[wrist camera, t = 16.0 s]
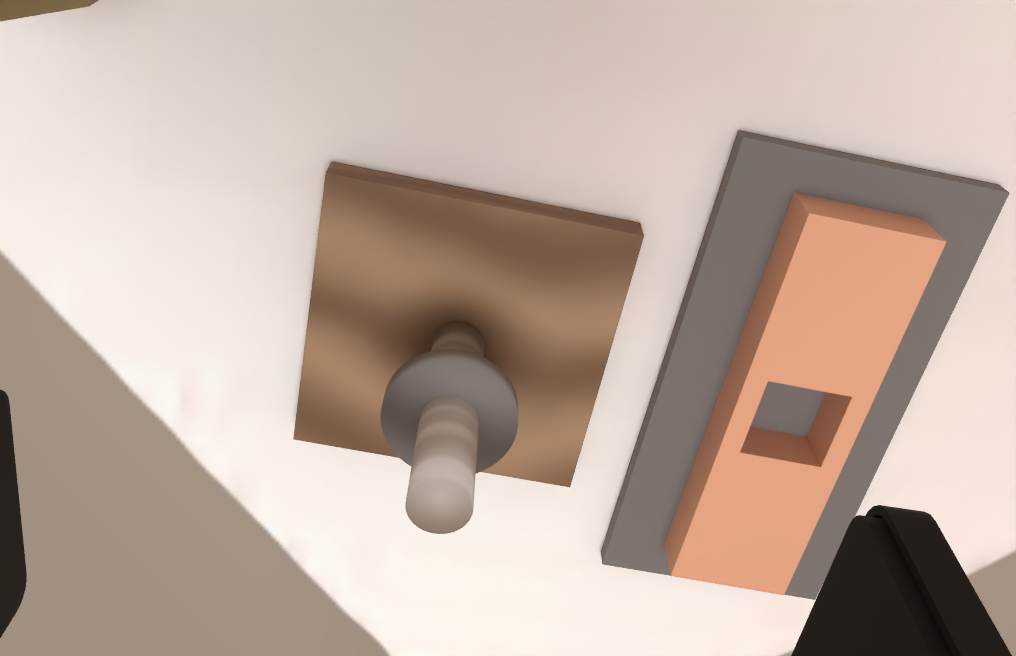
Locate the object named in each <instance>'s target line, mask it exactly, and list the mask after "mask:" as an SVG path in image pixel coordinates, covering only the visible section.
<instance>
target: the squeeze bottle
mask: <svg viewBox="0 0 1016 656" xmlns="http://www.w3.org/2000/svg"><path fill="white" fill-rule="evenodd" d="M97 1H98V0H0V21H5V20H11V19H17V18H23V17H29V16H34V15H40V14H46V13H52V12H58V11H64V10H70V9H75V8H81V7H87V6H90V5H92V4H94V3H95V2H97Z"/></svg>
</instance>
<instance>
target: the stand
mask: <svg viewBox="0 0 1016 656" xmlns="http://www.w3.org/2000/svg"><path fill="white" fill-rule="evenodd" d="M643 238H644V234H643V231H642V228H641V224H640V223H637V222H632V221H627V220H622V219H617V218H612V217H607V216H602V215H597V214H592V213H587V212H582V211H577V210H572V209H567V208H562V207H557V206H552V205H547V204H542V203H537V202H532V201H527V200H522V199H517V198H512V197H506V196H501V195H496V194H491V193H486V192H481V191H476V190H471V189H466V188H461V187H456V186H451V185H446V184H441V183H436V182H431V181H426V180H421V179H416V178H411V177H406V176H401V175H396V174H391V173H386V172H381V171H376V170H371V169H366V168H361V167H356V166H351V165H346V164H341V163H336V162H331V164H330V166H329V168H328V170H327V172H326V176H325V184H324V192H323V200H322V208H321V217H320V225H319V233H318V241H317V249H316V258H315V266H314V274H313V282H312V291H311V299H310V307H309V315H308V323H307V332H306V340H305V348H304V356H303V365H302V373H301V381H300V389H299V397H298V406H297V414H296V422H295V430H294V439H295V440H300V441H306V442H312V443H318V444H323V445H329V446H335V447H341V448H347V449H352V450H358V451H364V452H370V453H375V454H381V455H387V456H393V457H398V458H400V459H402V460H403V461H404V462H405V463H407V464H408V465H410V466H412V468H411V474H410V480H409V486H408V492H407V498H406V512H407V515H408V517H409V518H410V520H411V521H412V522H413V523H414V524H415V525H416V526H417V527H419V528H421V529H422V530H425V531H427V532H431V533H437V534H445V533H451V532H454V531H457V530H459V529H460V528H462V527H463V526H465V525H466V524H467V523H468V521H469V520H470V518H471V516H472V513H473V503H474V488H475V473H478V472H485V473H491V474H496V475H502V476H508V477H514V478H520V479H525V480H531V481H537V482H543V483H548V484H554V485H560V486H566V487H570V485H571V482H572V478H573V475H574V472H575V468H576V465H577V462H578V458H579V455H580V451H581V448H582V445H583V441H584V438H585V434H586V431H587V428H588V424H589V421H590V417H591V414H592V411H593V407H594V404H595V400H596V397H597V394H598V390H599V387H600V383H601V380H602V377H603V373H604V370H605V366H606V363H607V360H608V356H609V353H610V350H611V346H612V343H613V339H614V336H615V333H616V329H617V326H618V322H619V319H620V316H621V312H622V309H623V305H624V302H625V299H626V295H627V292H628V288H629V285H630V282H631V278H632V275H633V271H634V268H635V265H636V261H637V258H638V255H639V251H640V248H641V244H642V241H643Z"/></svg>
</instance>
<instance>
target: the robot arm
mask: <svg viewBox="0 0 1016 656" xmlns="http://www.w3.org/2000/svg"><path fill="white" fill-rule="evenodd" d="M25 588H26V564H25V554H24V544H23V535H22V524H21V515H20V504H19V494H18V485H17V474H16V464H15V454H14V444H13V434H12V424H11V414H10V404H9V399H8V396H7V394H6V392H4V391H2V390H0V638H1V636H2V634H3V633H4V631H5V630H6V628H7V626H8V625H9V623H10V622H11V620H12V618H13V617H14V615H15V614H16V612H17V610H18V608H19V606H20V604H21V601H22V598H23V595H24V591H25ZM791 656H1012V655H1011V654H1010V652H1009V650H1008V648H1007V646H1006V645H1005V643H1004V641H1003V639H1002V638H1001V636H1000V634H999V632H998V631H997V629H996V627H995V625H994V623H993V622H992V620H991V618H990V616H989V615H988V613H987V611H986V609H985V608H984V606H983V604H982V602H981V601H980V599H979V597H978V595H977V593H976V592H975V590H974V588H973V586H972V585H971V583H970V581H969V579H968V578H967V576H966V574H965V572H964V571H963V569H962V567H961V565H960V563H959V562H958V560H957V558H956V556H955V555H954V553H953V551H952V549H951V548H950V546H949V544H948V542H947V541H946V539H945V537H944V535H943V534H942V532H941V530H940V528H939V526H938V525H937V523H936V521H935V520H934V519H933V517H932V516H931V515H930V514H928V513H926V512H922V511H916V510H909V509H902V508H895V507H888V506H882V505H878V506H873V507H872V508H871V509H870V510H869V511H868V512H867V514H866V516H861V515H859V516H856V517H855V518H853V519H852V521H851V523H850V524H849V526H848V528H847V531H846V533H845V535H844V538H843V540H842V542H841V544H840V547H839V549H838V551H837V553H836V556H835V558H834V560H833V562H832V565H831V567H830V569H829V572H828V574H827V576H826V578H825V581H824V583H823V585H822V587H821V590H820V592H819V594H818V596H817V599H816V601H815V603H814V606H813V608H812V610H811V612H810V615H809V617H808V619H807V621H806V624H805V626H804V628H803V630H802V633H801V635H800V637H799V640H798V642H797V644H796V646H795V649H794V651H793V653H792V655H791Z"/></svg>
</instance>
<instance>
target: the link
mask: <svg viewBox="0 0 1016 656" xmlns="http://www.w3.org/2000/svg"><path fill="white" fill-rule="evenodd" d="M945 244H946V241H945V240H944V239H943V238H942V237H941V236H940V235H939V234H938V233H937V232H936V231H935V230H934V229H933V228H932V227H931V226H930V225H929V224H928V223H927V222H926V221H925V220H924V219H920V218H915V217H911V216H906V215H901V214H896V213H891V212H887V211H882V210H877V209H872V208H867V207H862V206H858V205H853V204H848V203H843V202H838V201H834V200H829V199H824V198H819V197H814V196H810V195H805V194H800V193H795V192H794V193H793V196H792V199H791V201H790V204H789V207H788V209H787V212H786V215H785V218H784V220H783V223H782V226H781V228H780V231H779V234H778V237H777V239H776V242H775V245H774V247H773V250H772V253H771V256H770V258H769V261H768V264H767V266H766V269H765V272H764V274H763V277H762V280H761V283H760V285H759V288H758V291H757V293H756V296H755V299H754V302H753V304H752V307H751V310H750V312H749V315H748V318H747V321H746V323H745V326H744V329H743V331H742V334H741V337H740V339H739V342H738V345H737V348H736V350H735V353H734V356H733V358H732V361H731V364H730V367H729V369H728V372H727V375H726V377H725V380H724V383H723V386H722V388H721V391H720V394H719V396H718V399H717V402H716V404H715V407H714V410H713V413H712V415H711V418H710V421H709V423H708V426H707V429H706V432H705V434H704V437H703V440H702V442H701V445H700V448H699V450H698V453H697V456H696V459H695V461H694V464H693V467H692V469H691V472H690V475H689V478H688V480H687V483H686V486H685V488H684V491H683V494H682V497H681V499H680V502H679V505H678V507H677V510H676V513H675V515H674V518H673V521H672V524H671V526H670V529H669V532H668V534H667V537H666V540H665V543H664V544H665V549H666V554H667V559H668V564H669V569H670V574H671V576H675V577H680V578H686V579H692V580H698V581H704V582H710V583H716V584H722V585H728V586H734V587H739V588H745V589H751V590H757V591H763V592H769V593H775V594H781V595H784V594H785V592H786V590H787V587H788V585H789V583H790V581H791V579H792V576H793V574H794V572H795V570H796V568H797V566H798V563H799V561H800V559H801V557H802V555H803V553H804V550H805V548H806V546H807V544H808V542H809V540H810V537H811V535H812V533H813V531H814V529H815V527H816V524H817V522H818V520H819V518H820V516H821V513H822V511H823V509H824V507H825V505H826V503H827V500H828V498H829V496H830V494H831V492H832V490H833V487H834V485H835V483H836V481H837V479H838V477H839V474H840V472H841V470H842V468H843V466H844V464H845V461H846V459H847V457H848V455H849V453H850V450H851V448H852V446H853V444H854V442H855V440H856V437H857V435H858V433H859V431H860V429H861V427H862V424H863V422H864V420H865V418H866V416H867V414H868V411H869V409H870V407H871V405H872V403H873V401H874V398H875V396H876V394H877V392H878V390H879V388H880V385H881V383H882V381H883V379H884V377H885V374H886V372H887V370H888V368H889V366H890V364H891V361H892V359H893V357H894V355H895V353H896V351H897V348H898V346H899V344H900V342H901V340H902V338H903V335H904V333H905V331H906V329H907V327H908V325H909V322H910V320H911V318H912V316H913V314H914V311H915V309H916V307H917V305H918V303H919V301H920V298H921V296H922V294H923V292H924V290H925V288H926V285H927V283H928V281H929V279H930V277H931V275H932V272H933V270H934V268H935V266H936V264H937V262H938V259H939V257H940V255H941V253H942V251H943V248H944V246H945ZM768 381H770V382H776V383H781V384H786V385H791V386H797V387H802V388H807V389H813V390H818V391H823V392H826V394H825V397H824V399H823V401H822V403H821V406H820V408H819V410H818V413H817V415H816V417H815V420H814V422H813V424H812V427H811V429H810V431H809V434H808V436H807V437H804V436H798V435H793V434H788V433H782V432H777V431H771V430H766V429H761V428H755V427H750V426H751V423H752V421H753V418H754V416H755V413H756V410H757V408H758V405H759V403H760V400H761V398H762V395H763V393H764V390H765V388H766V385H767V383H768Z"/></svg>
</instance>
